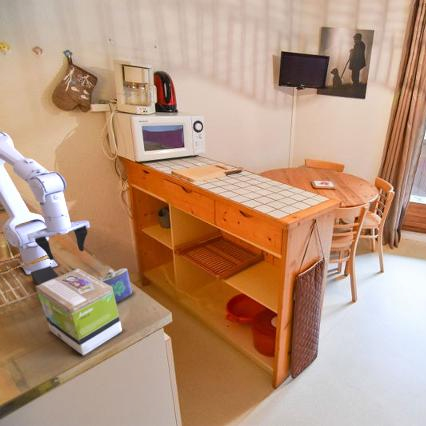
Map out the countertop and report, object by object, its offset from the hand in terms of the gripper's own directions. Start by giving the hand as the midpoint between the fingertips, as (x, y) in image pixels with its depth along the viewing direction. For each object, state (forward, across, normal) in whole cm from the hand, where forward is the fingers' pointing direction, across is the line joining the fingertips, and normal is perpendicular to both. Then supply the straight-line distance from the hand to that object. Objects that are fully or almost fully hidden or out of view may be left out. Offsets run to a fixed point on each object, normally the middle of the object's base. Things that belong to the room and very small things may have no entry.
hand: (66, 254), depth 98 cm
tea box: (+10, -5, -28) cm, 30 cm away
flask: (+10, +5, -20) cm, 23 cm away
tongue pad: (+9, -6, +1) cm, 11 cm away
